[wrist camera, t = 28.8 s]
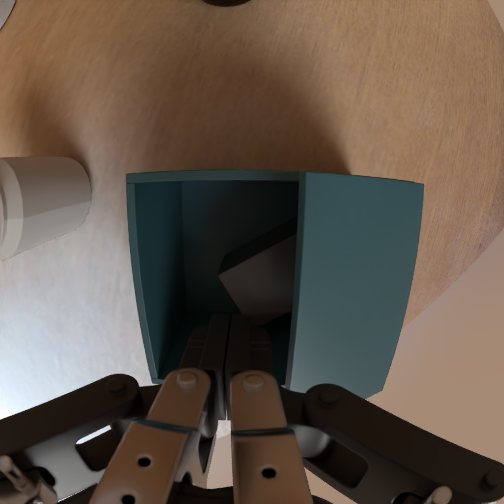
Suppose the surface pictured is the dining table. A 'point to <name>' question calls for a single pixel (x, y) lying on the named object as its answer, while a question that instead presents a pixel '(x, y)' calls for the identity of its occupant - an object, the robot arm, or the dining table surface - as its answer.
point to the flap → (351, 279)
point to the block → (263, 274)
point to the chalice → (5, 10)
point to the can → (40, 201)
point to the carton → (199, 251)
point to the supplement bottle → (225, 2)
